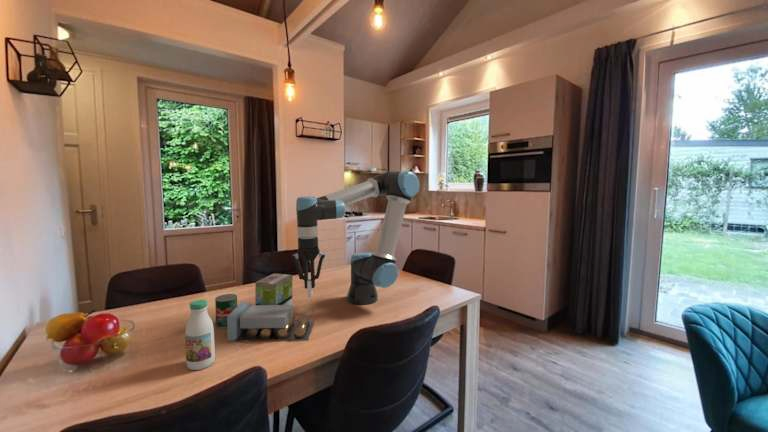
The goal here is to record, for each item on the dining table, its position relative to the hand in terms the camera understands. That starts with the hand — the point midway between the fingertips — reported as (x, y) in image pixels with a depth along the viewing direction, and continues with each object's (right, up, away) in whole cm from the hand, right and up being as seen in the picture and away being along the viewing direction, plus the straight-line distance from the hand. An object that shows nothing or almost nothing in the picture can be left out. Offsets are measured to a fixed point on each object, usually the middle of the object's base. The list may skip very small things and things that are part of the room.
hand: (310, 295), depth 127 cm
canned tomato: (-34, -12, +2) cm, 36 cm away
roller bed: (-11, -13, -3) cm, 17 cm away
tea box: (-20, -11, +17) cm, 28 cm away
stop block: (-26, -13, -4) cm, 29 cm away
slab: (-15, -9, -4) cm, 18 cm away
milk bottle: (-28, -15, -26) cm, 41 cm away
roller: (-21, -11, -4) cm, 24 cm away
